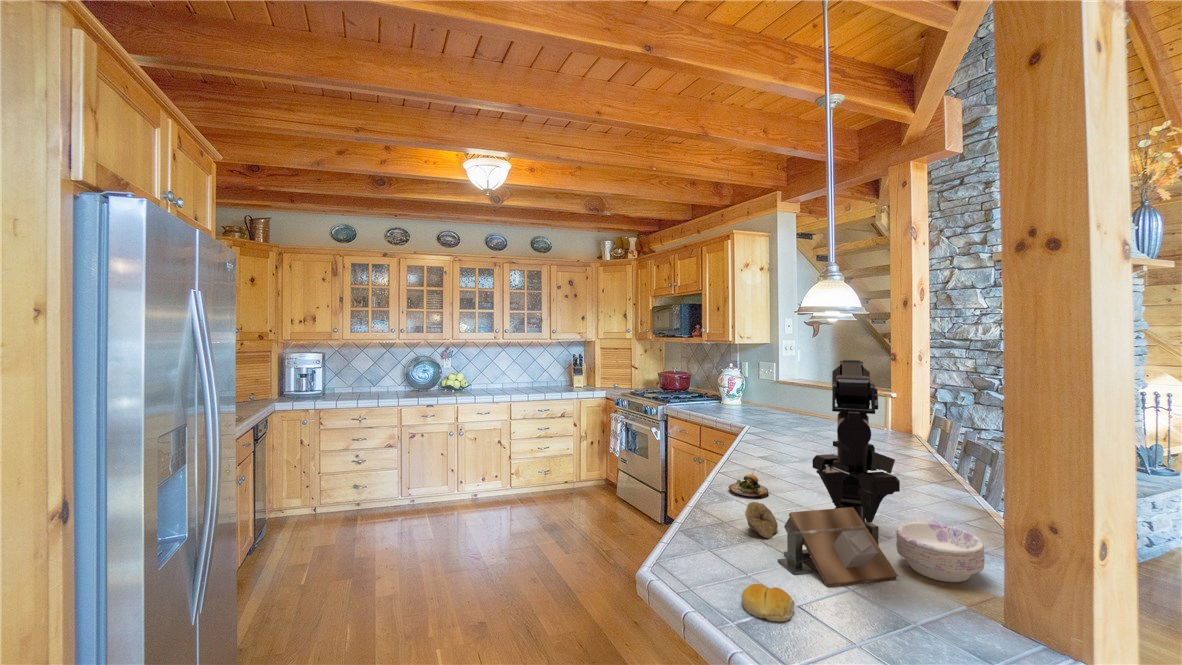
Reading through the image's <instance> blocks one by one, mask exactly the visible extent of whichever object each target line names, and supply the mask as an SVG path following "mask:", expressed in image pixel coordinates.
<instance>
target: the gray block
mask: <svg viewBox="0 0 1182 665" xmlns="http://www.w3.org/2000/svg"><path fill="white" fill-rule="evenodd" d="M833 547H834V549H835V551H836V552H837V554H838V556H839V558H840V559H841V561H842V563H843V565H844V566H845V568H851V567H861V566H867V565H868V564H869V563H870V562H871V560H872V559H873V558H874V557H875V556H876V555H877V553H878V552H877V550H876V549H875V547H874V546H873V544H872V542H871V541H870V539H869V538H868V536H867V535H866V533H865V531H864V530H857V531H846V532H842V533H841V534H840V536H839V537H838V538H837V540H836V541H835V542H834V544H833Z"/></svg>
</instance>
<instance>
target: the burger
mask: <svg viewBox="0 0 1182 665" xmlns="http://www.w3.org/2000/svg"><path fill="white" fill-rule="evenodd" d="M754 471H755V469H753V471H752V472H754ZM742 479H743V480H740V479H738V480H736V482H735V483H732V484H730V485H729V486H728V489H730V491H732V492H733V493H734V494H737V495H739V496H744V497H745V496H746V497H760V500H763V499H766V498H767V497H769V496H770V495H769V489H768V488H767V487H765V486H764V485H761V484H760V483H759V478H758V476H756V475H755V474H754V473H751V474H750V473H748V474H745V475H744V476H743V478H742Z"/></svg>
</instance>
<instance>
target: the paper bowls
mask: <svg viewBox="0 0 1182 665" xmlns="http://www.w3.org/2000/svg"><path fill="white" fill-rule="evenodd" d="M895 532H896V533H895V535H896V538H895V539H896V545H895V546H896V551H897V553H898V555H899V556H900V557H902V558H903V559H904V560H906V561H907V563H908V565H909V566H910V567H911V568H912V569H913V571H915V572H916V573H918V574H919V575H922V576H924V577H926V578H930V579H932V580H936V581H939V582H946V583H961V582H962V583H963V582H966V581H968V579H970V578H971V576H972V575H974V574H978V573H980V572H982V571H983V570H984V569H985V558H986V557H985V544H984V542H983V541H982V540H981V539H980V538H979V537H978V536H976V535H974V534H973V533H970V532H969V531H965V530H964V529H961V528H957V527H954V526H950V525H946V524H940V523H934V522H924V521H919V522H918V521H914V522H913V521H912V522H904V523H902V524H900V525H898V526H897V527H896V531H895Z"/></svg>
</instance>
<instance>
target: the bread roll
mask: <svg viewBox="0 0 1182 665" xmlns="http://www.w3.org/2000/svg"><path fill="white" fill-rule="evenodd" d="M741 604H742V606H743V608H744V610H746V611H747V612H748V613H749V614H750V615H751V614H752V615H751V616H753V615H754V616H753V617H755V618H758V617H759V618H758V619H765V620H767V621H770V622H775V621H777V622H776V623H778V622H786V621H789V620H790V619H791V617H793V614H794V610H795V601H794V599H793V598H792V597H791V595H790V594H789V593H788V592H786V591H785V590H784V589H781V588H779V587H770V588H769V587H767V586H766V585H764V584H762V583H753V584H750V585H748V586H746V588H744V589H743V591H742V593H741Z"/></svg>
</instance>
